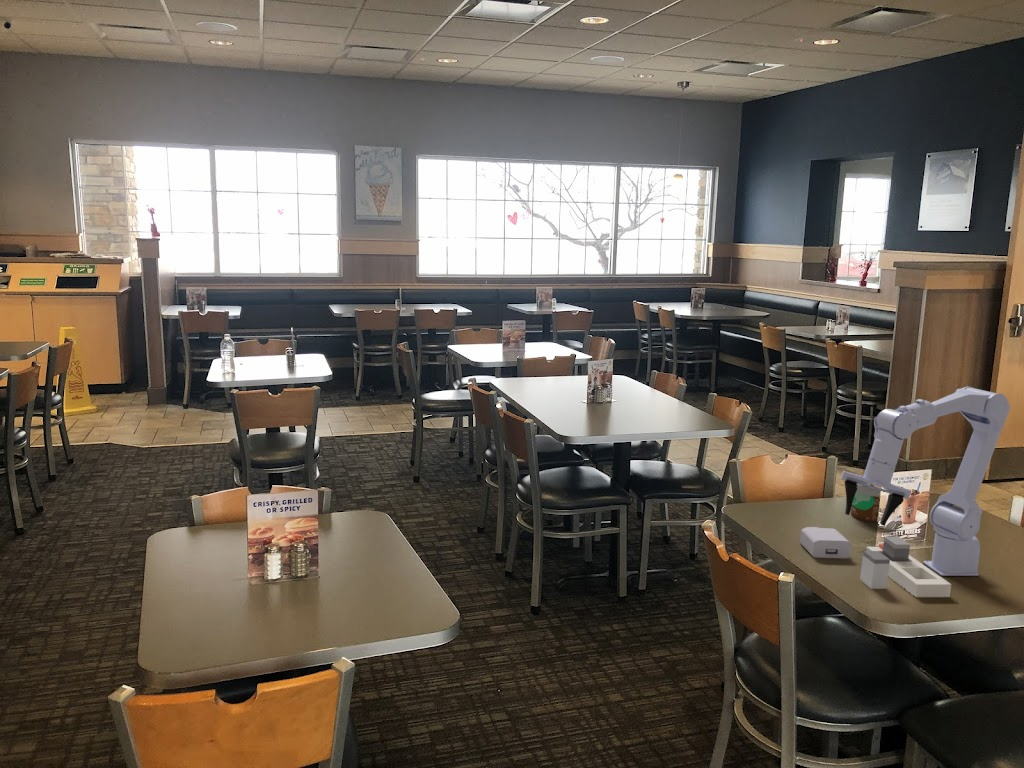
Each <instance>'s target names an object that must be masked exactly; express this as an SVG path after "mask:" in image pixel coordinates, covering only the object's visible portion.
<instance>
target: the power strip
mask: <svg viewBox="0 0 1024 768" xmlns="http://www.w3.org/2000/svg"><path fill="white" fill-rule="evenodd" d="M883 544H884V543H879V544H878V546H866V547H865V551H879V552H881V553H882V552H883ZM888 578H890V579H891V580H893V581H894V582H895V583H896V584H898V585H899V586H900V587H901V586H902V587H901V588H903V589H904V588H905V589H906V591H907V592H908V593H909V592H910V593H911V594H910V593H909V594H910V595H911V596H913V595H914V596H915V597H914V596H913V597H914V598H950V596H951V591H952V584H951V583H950V582H948V581H947V580H946V579H944V578H943V577H942V576H941V575H940V574H938V573H937V572H935V571H934V570H932V569H931V568H930V567H928V566H927V565H925V564H924V563H922V562H920V561H919V560H918V559H916V558H914V557H913V556H912V555H910V554H909V557H908V562H892V561H891V560H890V564H889V571H888ZM905 589H904V590H905Z"/></svg>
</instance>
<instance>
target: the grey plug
mask: <svg viewBox="0 0 1024 768" xmlns="http://www.w3.org/2000/svg"><path fill="white" fill-rule="evenodd" d="M889 564H890V559H889V558H887V557H886V556H885V555H883V554H882V553H881V552H879V551H866V550H863V553H862V559H861V569H860V576H859V577H860V578H859V580H860V581H861V582H862V583H863V584H865V585H866V586H867V587H868V588H869V589H871V590H876V589H877V590H881V589H882V590H884V589H885V590H886V589H887V585H888V578H889V576H888V571H889Z"/></svg>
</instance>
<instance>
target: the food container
mask: <svg viewBox="0 0 1024 768" xmlns="http://www.w3.org/2000/svg"><path fill="white" fill-rule="evenodd" d="M861 483H862V482H861ZM864 484H865V483H864ZM867 484H868V485H871V486H875V485H872V484H869V483H867ZM856 485H857V491H856V494H855V496H854V499H853V502H852V507H851V511H850V516H851V517H852V518H854V519H856V520H858V521H862V522H866V523H874V524H877V517H878V510H879V501H880V499H879V494H880V490H876V489H873V488H869V487H866V486H863V485H859V484H856Z"/></svg>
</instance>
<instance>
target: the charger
mask: <svg viewBox="0 0 1024 768" xmlns="http://www.w3.org/2000/svg"><path fill="white" fill-rule="evenodd" d="M799 543H800V544H801V545H802V546H803V548H805V550H807V552H808V553H810V555H811V556H812V557H813V558H815V559H816V558H819V559H820V558H821V559H822V558H823V559H849V558H850V555H851V547H852V543H851V542H850V541H849V540H848V539H847V538H846V537H845V536H844V535H842V534H841V533H840V532H839V531H838V530H837V529H835V528H833V527H832V528H829V527H817V526H806V527H803V528H802V529H801V530H800V540H799Z"/></svg>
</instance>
